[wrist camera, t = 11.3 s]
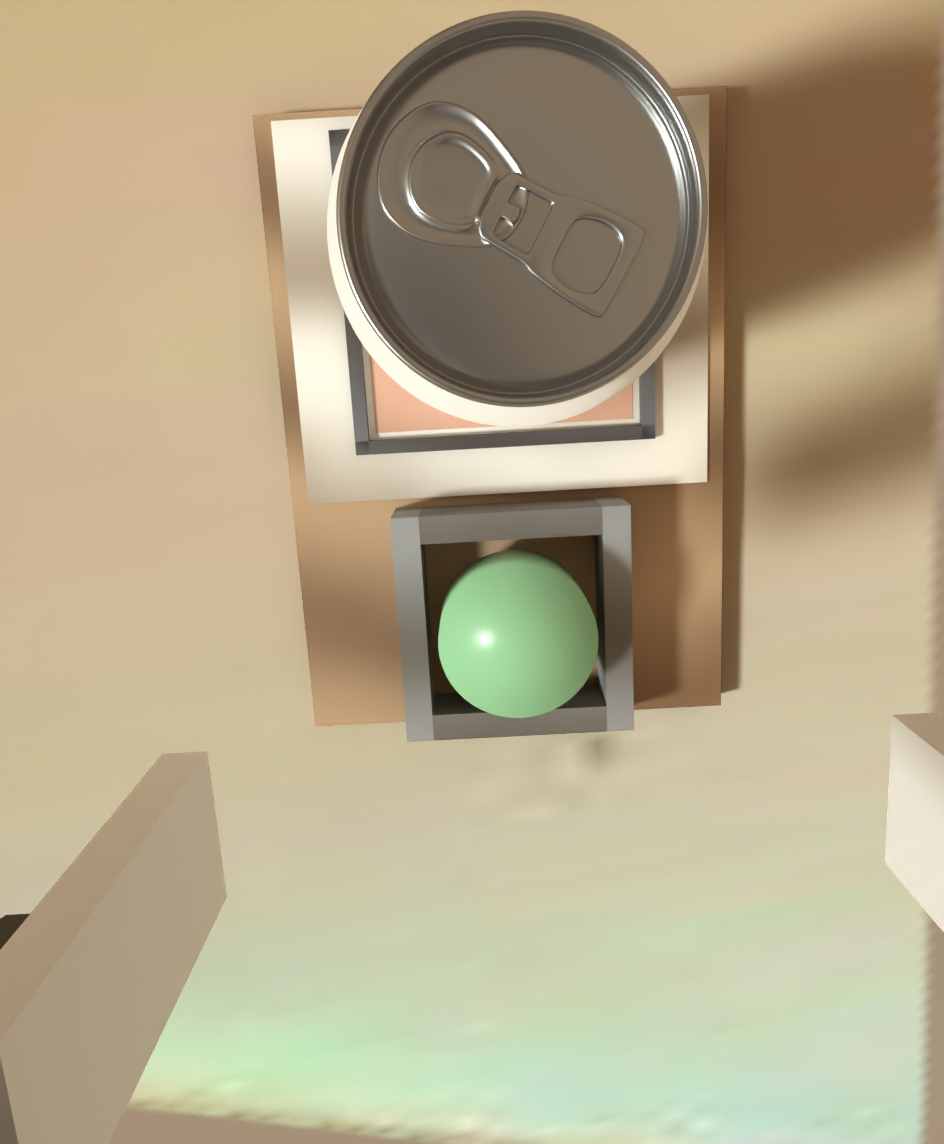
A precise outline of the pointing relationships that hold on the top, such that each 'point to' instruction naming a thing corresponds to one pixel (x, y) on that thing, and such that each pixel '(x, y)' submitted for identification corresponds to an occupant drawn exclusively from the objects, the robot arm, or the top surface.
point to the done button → (517, 634)
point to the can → (518, 219)
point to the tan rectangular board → (491, 484)
